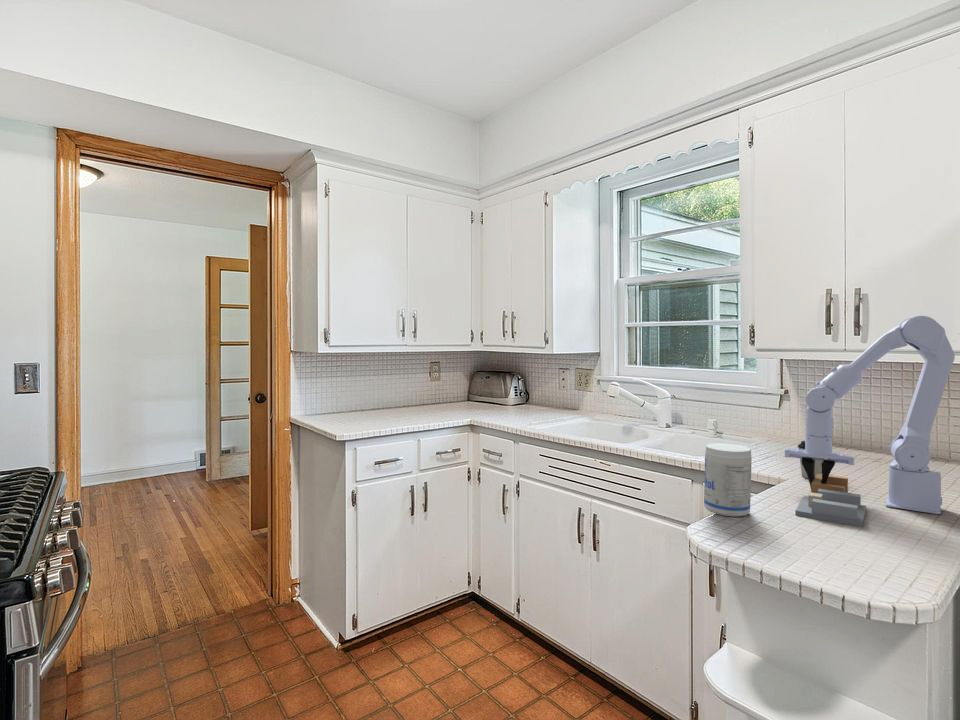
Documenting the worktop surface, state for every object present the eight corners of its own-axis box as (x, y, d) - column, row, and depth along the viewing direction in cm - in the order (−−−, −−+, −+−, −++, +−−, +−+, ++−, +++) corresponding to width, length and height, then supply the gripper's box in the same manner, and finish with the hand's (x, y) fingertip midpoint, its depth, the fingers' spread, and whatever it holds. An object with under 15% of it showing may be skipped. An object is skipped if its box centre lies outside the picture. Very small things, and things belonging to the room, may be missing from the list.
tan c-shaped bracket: (847, 493, 131) (848, 477, 131) (844, 504, 122) (844, 488, 121) (817, 489, 135) (817, 473, 135) (810, 499, 126) (811, 483, 126)
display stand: (865, 510, 118) (866, 494, 118) (862, 526, 107) (862, 510, 107) (804, 500, 125) (804, 485, 125) (795, 514, 114) (795, 499, 114)
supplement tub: (696, 505, 122) (696, 443, 121) (734, 503, 123) (734, 442, 122) (719, 519, 112) (719, 451, 112) (760, 517, 113) (761, 450, 113)
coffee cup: (832, 479, 145) (832, 444, 144) (813, 481, 142) (813, 445, 142) (809, 473, 151) (809, 439, 151) (791, 475, 149) (791, 441, 149)
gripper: (855, 436, 128) (854, 490, 128) (788, 430, 137) (787, 481, 138) (853, 440, 123) (852, 497, 123) (783, 433, 132) (782, 486, 132)
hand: (817, 489), depth 130 cm, fingers closed on tan c-shaped bracket, 2 cm apart
